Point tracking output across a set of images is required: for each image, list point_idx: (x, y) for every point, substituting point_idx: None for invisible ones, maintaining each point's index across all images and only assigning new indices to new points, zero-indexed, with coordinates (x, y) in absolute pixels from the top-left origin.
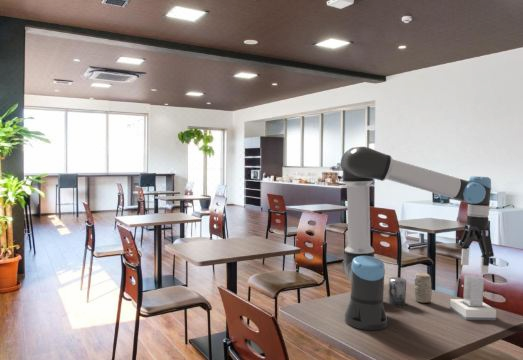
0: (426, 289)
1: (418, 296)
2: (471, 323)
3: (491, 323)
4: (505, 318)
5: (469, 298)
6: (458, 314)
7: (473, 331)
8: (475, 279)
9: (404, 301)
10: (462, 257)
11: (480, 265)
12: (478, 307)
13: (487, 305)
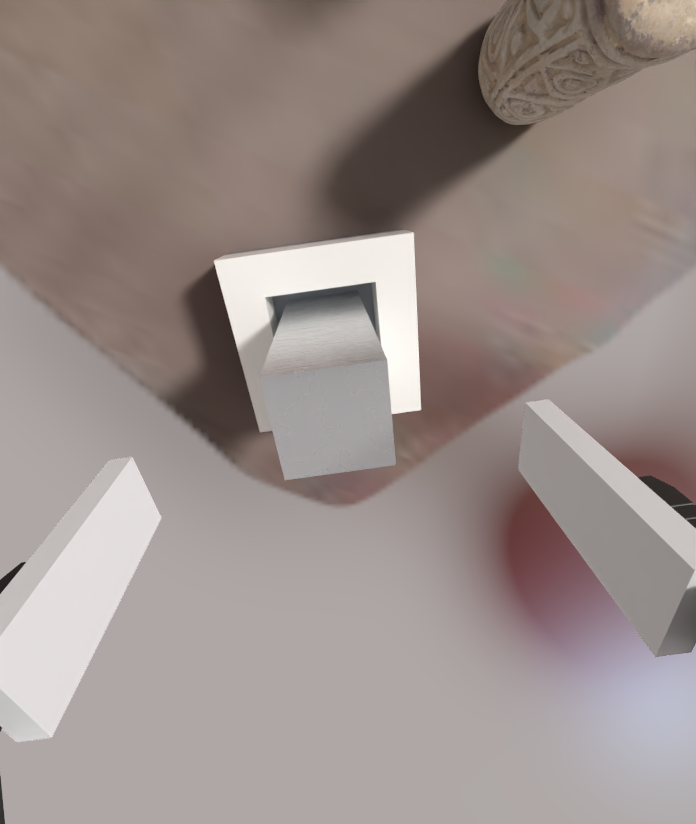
0: (521, 24)
1: None
2: (180, 267)
3: (216, 372)
4: None
5: (288, 321)
6: (301, 243)
7: (51, 227)
8: (269, 411)
9: None
10: (580, 457)
11: (80, 524)
12: None
13: None
